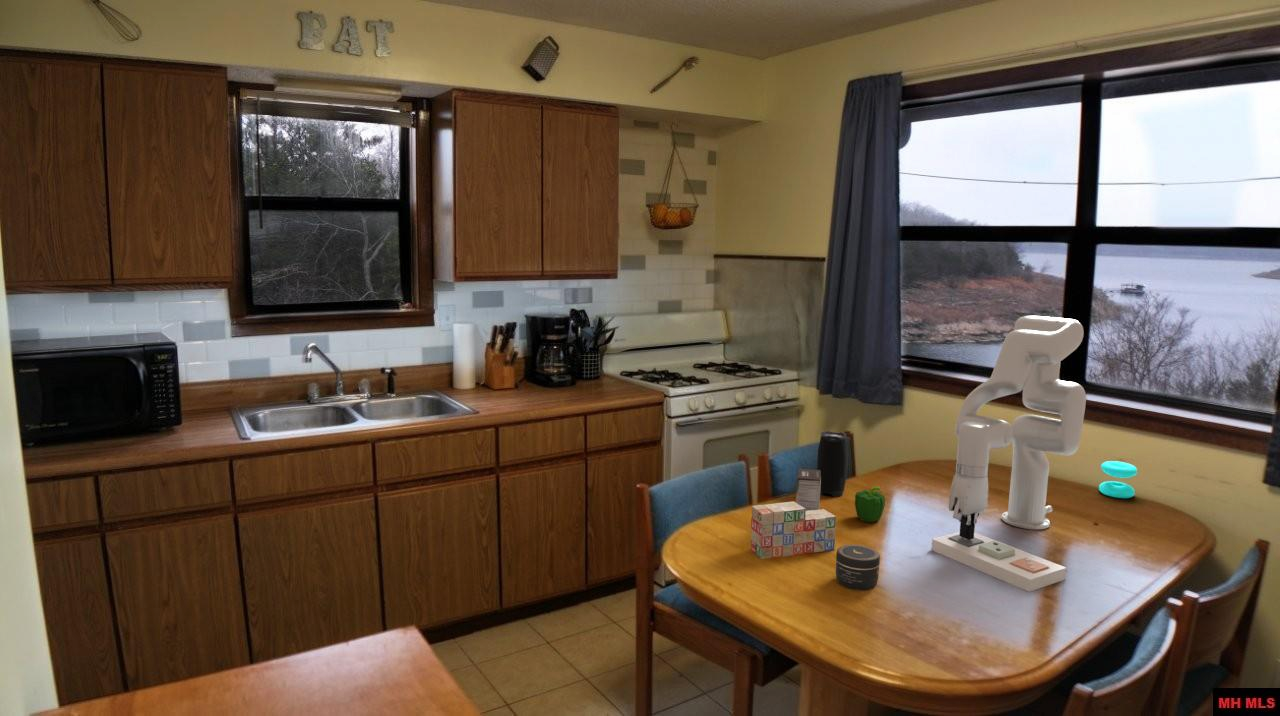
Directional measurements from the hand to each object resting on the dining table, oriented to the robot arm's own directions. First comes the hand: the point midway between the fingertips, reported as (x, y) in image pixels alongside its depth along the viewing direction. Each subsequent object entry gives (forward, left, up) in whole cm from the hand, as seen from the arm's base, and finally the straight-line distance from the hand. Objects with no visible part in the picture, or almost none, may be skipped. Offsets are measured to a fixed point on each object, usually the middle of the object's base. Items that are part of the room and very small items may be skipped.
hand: (966, 537), depth 207 cm
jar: (+39, 0, -4) cm, 39 cm away
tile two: (0, +9, -2) cm, 9 cm away
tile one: (0, 0, -3) cm, 3 cm away
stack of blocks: (+40, -22, -4) cm, 46 cm away
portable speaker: (-2, -52, -4) cm, 52 cm away
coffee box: (+26, -32, -4) cm, 42 cm away
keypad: (0, +9, -4) cm, 10 cm away
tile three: (0, +18, -3) cm, 18 cm away
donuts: (-84, -8, -4) cm, 84 cm away
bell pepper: (+5, -29, -4) cm, 30 cm away
